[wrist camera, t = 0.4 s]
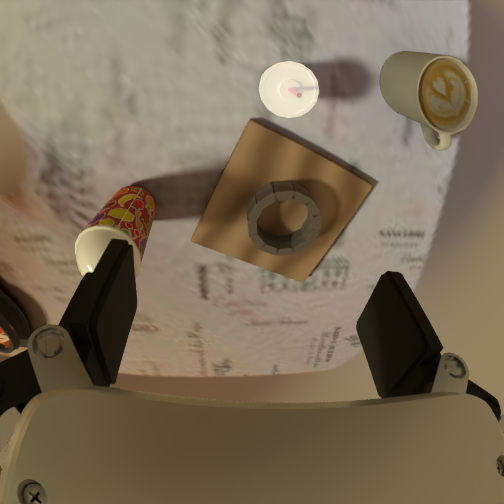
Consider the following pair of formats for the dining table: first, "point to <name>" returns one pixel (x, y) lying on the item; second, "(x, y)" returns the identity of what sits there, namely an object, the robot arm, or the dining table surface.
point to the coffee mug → (430, 93)
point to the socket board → (278, 204)
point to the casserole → (12, 325)
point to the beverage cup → (288, 89)
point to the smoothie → (117, 227)
